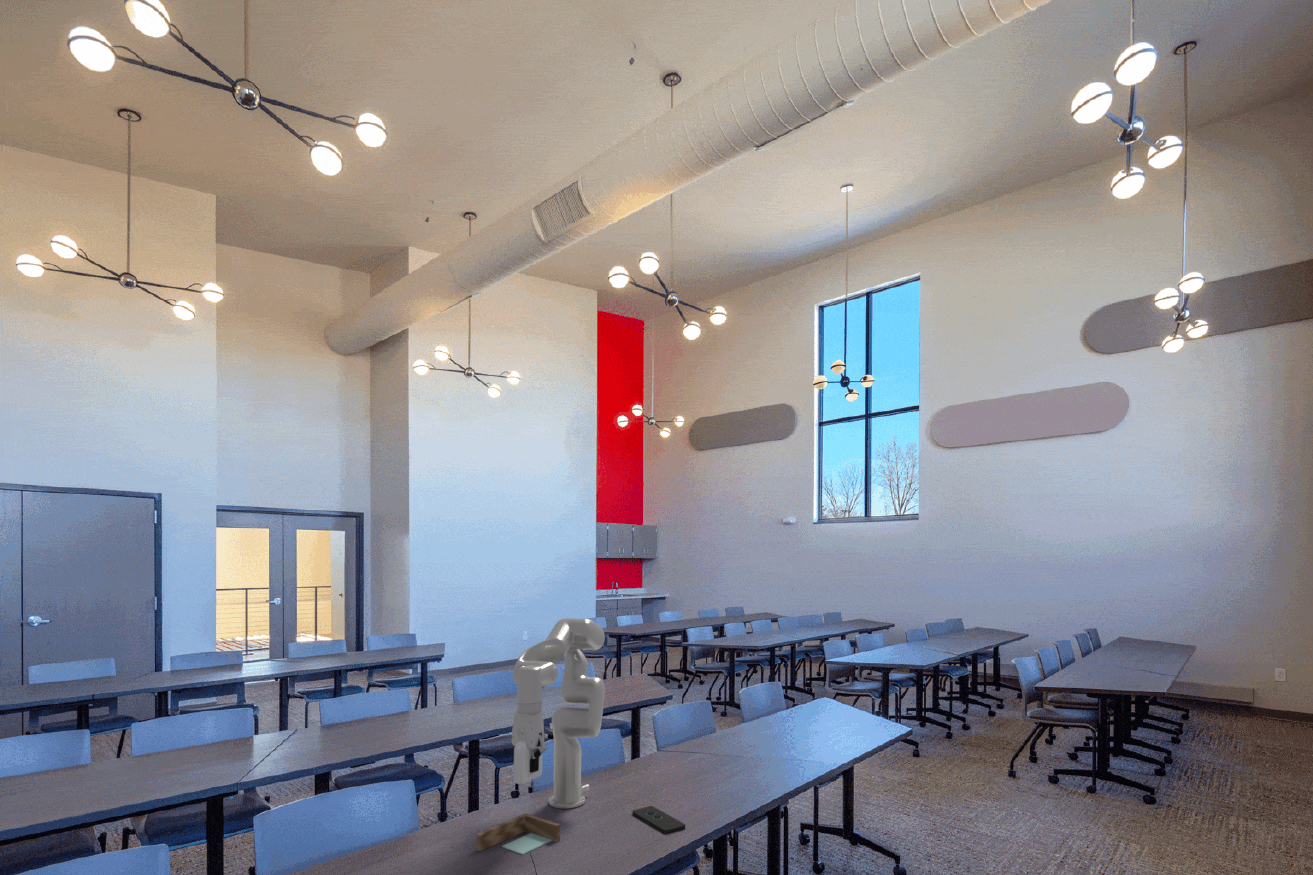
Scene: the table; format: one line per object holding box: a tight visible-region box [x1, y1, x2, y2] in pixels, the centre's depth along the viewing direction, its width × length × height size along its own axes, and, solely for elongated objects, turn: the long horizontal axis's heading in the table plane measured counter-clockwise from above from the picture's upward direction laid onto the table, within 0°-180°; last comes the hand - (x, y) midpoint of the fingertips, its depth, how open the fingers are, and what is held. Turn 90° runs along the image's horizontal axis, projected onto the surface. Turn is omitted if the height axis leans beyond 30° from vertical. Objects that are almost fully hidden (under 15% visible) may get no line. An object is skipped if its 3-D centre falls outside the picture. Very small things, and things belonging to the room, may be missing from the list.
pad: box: [501, 833, 553, 856], centre depth 214 cm, size 12×9×1 cm
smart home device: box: [631, 805, 686, 835], centre depth 231 cm, size 8×2×20 cm
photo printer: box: [512, 740, 543, 785], centre depth 218 cm, size 10×4×12 cm, turn 150°
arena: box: [476, 813, 561, 852], centre depth 214 cm, size 20×15×4 cm
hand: (528, 769), depth 218 cm, fingers closed on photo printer, 4 cm apart
